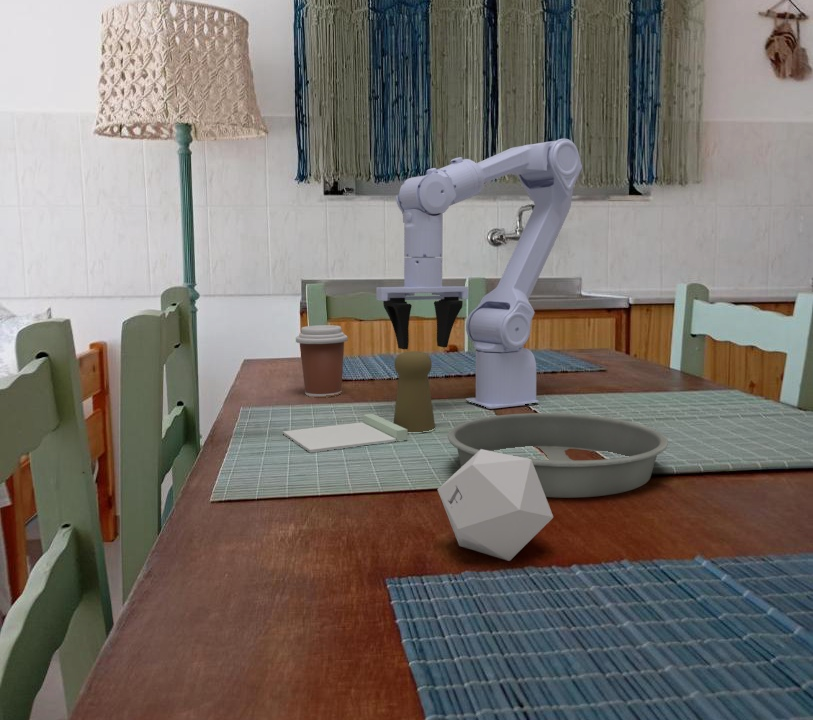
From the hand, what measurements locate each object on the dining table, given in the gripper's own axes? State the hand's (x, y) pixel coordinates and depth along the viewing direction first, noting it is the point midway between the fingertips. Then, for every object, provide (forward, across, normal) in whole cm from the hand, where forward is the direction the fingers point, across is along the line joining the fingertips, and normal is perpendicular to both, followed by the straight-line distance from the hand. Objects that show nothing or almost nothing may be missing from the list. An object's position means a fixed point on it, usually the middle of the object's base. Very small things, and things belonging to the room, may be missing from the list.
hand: (422, 347), depth 124 cm
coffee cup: (+11, +7, -25) cm, 28 cm away
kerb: (+11, +10, +8) cm, 17 cm away
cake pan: (+11, 0, +35) cm, 37 cm away
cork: (+11, +5, +8) cm, 14 cm away
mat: (+11, +17, +8) cm, 21 cm away
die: (+11, +19, +53) cm, 57 cm away
